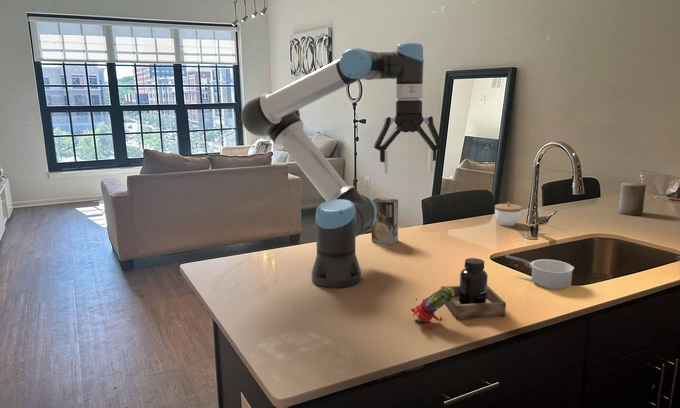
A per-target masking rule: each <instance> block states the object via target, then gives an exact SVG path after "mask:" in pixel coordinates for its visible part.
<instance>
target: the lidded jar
mask: <svg viewBox="0 0 680 408" xmlns="http://www.w3.org/2000/svg"><path fill="white" fill-rule="evenodd" d="M494 215H495V219H496V221H497V222H498V223H499V225H501V226H504V227H513V226H516V224H517V223H518V222H519V221H520V219H521V215H522V206H521V205H519V204H514V203H510V202H509V201H508V202H506V203H497V204H495V205H494Z"/></svg>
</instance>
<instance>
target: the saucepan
mask: <svg viewBox="0 0 680 408" xmlns="http://www.w3.org/2000/svg"><path fill="white" fill-rule="evenodd" d="M504 258H506V259H509V260H512V261H515V262H519V263H522V264H523V265H524V266H525V267H526V268H528V269H531V281H532V282H533V283H535V284H537V286H540V287H542V288H546V289H551V290H562V289H565V288H568V287H570V286H571V285H572V279H573V271H574V270H575V267H574V266H573V265H572V264H570V263H568V262H564V261H561V260H555V259H536V260H533V261H528V260H527V259H523V258H520V257H518V256H517V257H516V256H512V255H509V254H506V255H505V256H504Z"/></svg>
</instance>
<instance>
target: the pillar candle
mask: <svg viewBox="0 0 680 408" xmlns="http://www.w3.org/2000/svg"><path fill="white" fill-rule="evenodd" d="M646 187H647V185H646V183H643V182H635V181H631V182H629V181H627V182H626V181H624V182H621V185H620V196H619V202H618V213H619V214H620V215H627V216H636V217H637V216H642V215H643V214H644V213H643V212H644V203H645V197H646V195H645V194H646Z"/></svg>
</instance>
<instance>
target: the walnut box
mask: <svg viewBox="0 0 680 408" xmlns="http://www.w3.org/2000/svg"><path fill="white" fill-rule="evenodd" d="M445 287H447V288H453V289H454V291H455V295H454V297H453V300H452V301H450V302H448V303H446V304H444V305H445V306H446V308H447V309H448V311H449V312H450V313H451V315H452V316H453V317H454V318H455V320H470V319H473V320H474V319H487V318H489V319H490V318H500V317H502V318H503V317H506V310H507V309H506V308H507V303H506V302H505V301H504V299H502V298H501V297H500V296H499V295H498V294H497V293H496V292H495V291H494V290H493V289H492V288H491V287H490V286H488V285H487V293H486V303H476V304H460V303H459V289H460V285H445V286H440V289H441V288H445Z"/></svg>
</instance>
